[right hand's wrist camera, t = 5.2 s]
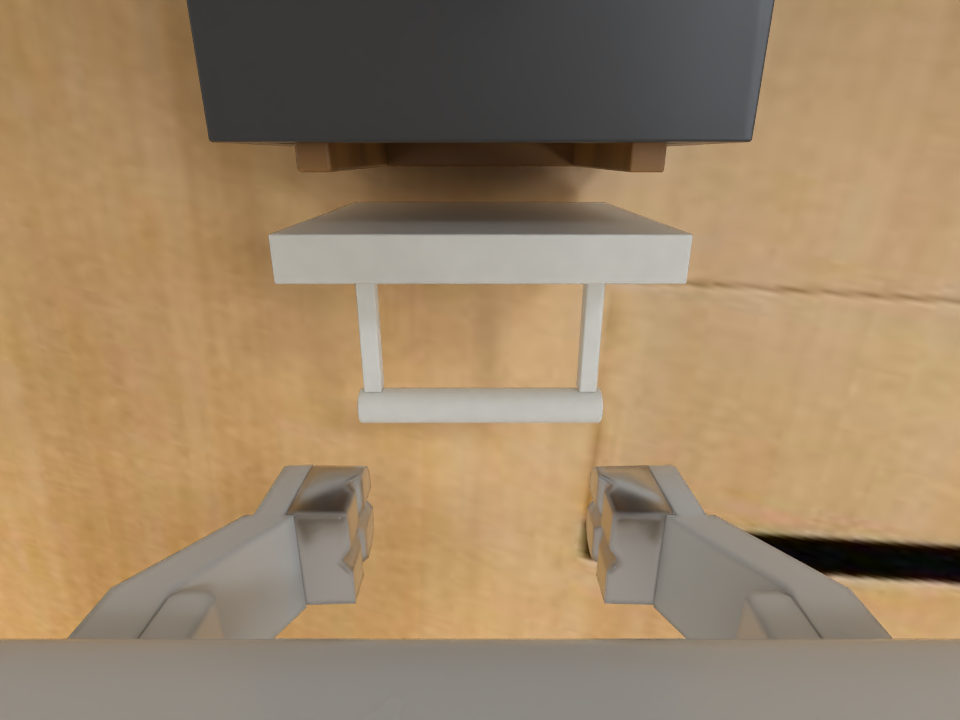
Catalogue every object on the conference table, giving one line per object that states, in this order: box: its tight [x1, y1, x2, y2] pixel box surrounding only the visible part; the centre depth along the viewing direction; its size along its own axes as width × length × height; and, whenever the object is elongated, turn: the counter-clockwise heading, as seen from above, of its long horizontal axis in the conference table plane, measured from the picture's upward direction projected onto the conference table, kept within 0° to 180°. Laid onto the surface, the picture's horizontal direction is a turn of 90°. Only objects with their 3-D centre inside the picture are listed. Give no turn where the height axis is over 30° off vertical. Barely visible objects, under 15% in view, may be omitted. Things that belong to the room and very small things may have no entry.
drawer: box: [268, 143, 693, 423], centre depth 17 cm, size 19×10×10 cm, turn 0°
